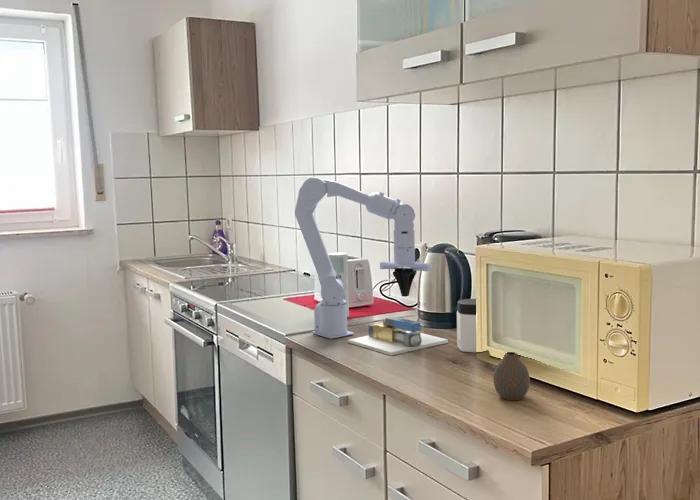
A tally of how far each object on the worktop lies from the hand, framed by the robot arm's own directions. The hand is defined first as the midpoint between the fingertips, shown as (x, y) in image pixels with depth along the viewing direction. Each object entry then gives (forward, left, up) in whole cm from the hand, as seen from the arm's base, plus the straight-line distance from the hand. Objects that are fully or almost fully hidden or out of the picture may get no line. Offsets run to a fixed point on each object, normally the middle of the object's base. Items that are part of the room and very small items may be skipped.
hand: (405, 295), depth 192 cm
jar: (+25, +1, -11) cm, 27 cm away
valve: (+7, -10, -10) cm, 16 cm away
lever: (+10, -10, -6) cm, 15 cm away
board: (+7, -9, -10) cm, 15 cm away
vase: (+56, -21, -11) cm, 61 cm away
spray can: (-31, -1, -11) cm, 33 cm away
